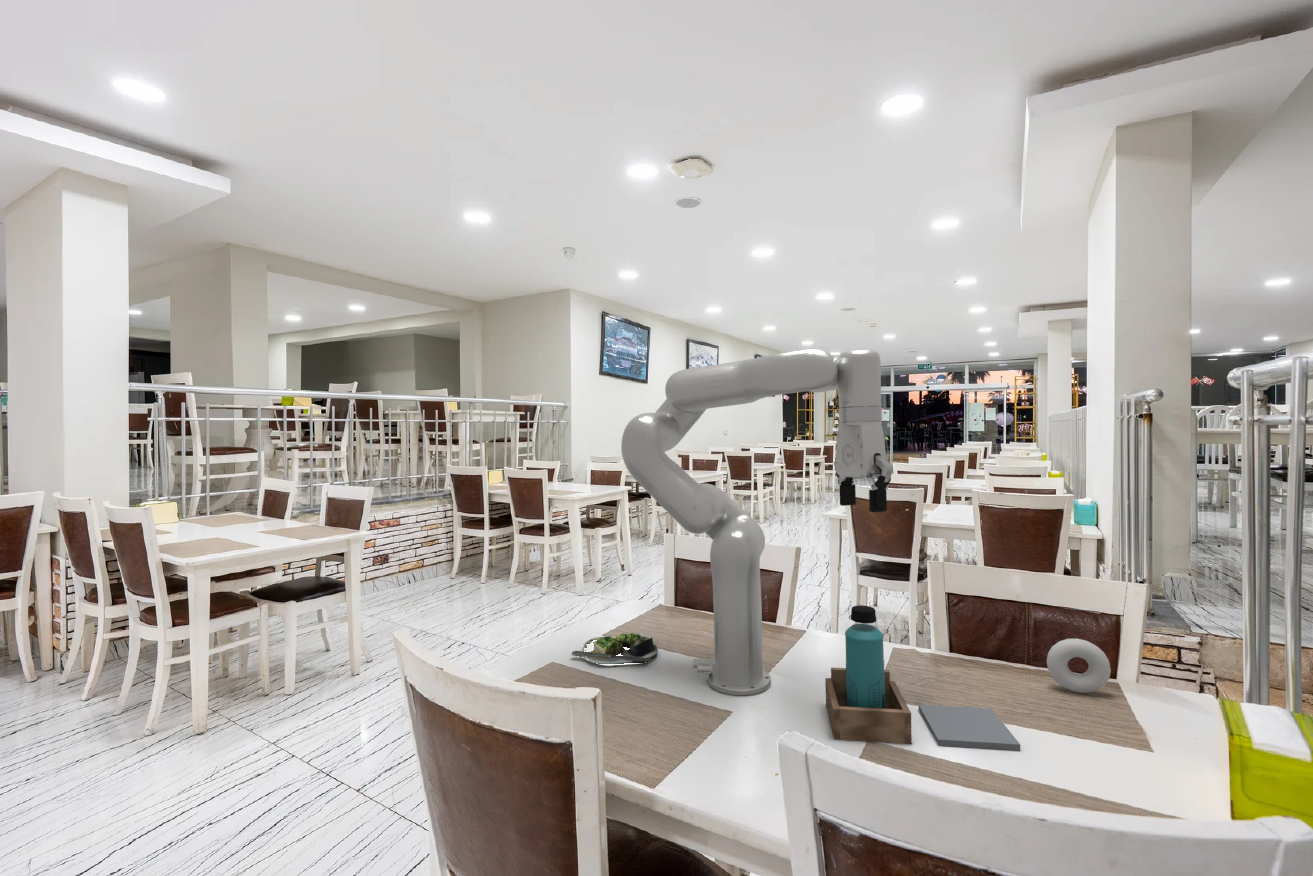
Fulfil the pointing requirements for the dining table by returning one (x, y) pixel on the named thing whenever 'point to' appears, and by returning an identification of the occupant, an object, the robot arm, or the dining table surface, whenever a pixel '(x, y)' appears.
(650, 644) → the salad plate
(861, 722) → the brown wooden open box
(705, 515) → the robot arm
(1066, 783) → the dining table surface
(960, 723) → the slate mat
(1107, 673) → the donut
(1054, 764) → the dining table surface
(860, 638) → the beverage bottle
